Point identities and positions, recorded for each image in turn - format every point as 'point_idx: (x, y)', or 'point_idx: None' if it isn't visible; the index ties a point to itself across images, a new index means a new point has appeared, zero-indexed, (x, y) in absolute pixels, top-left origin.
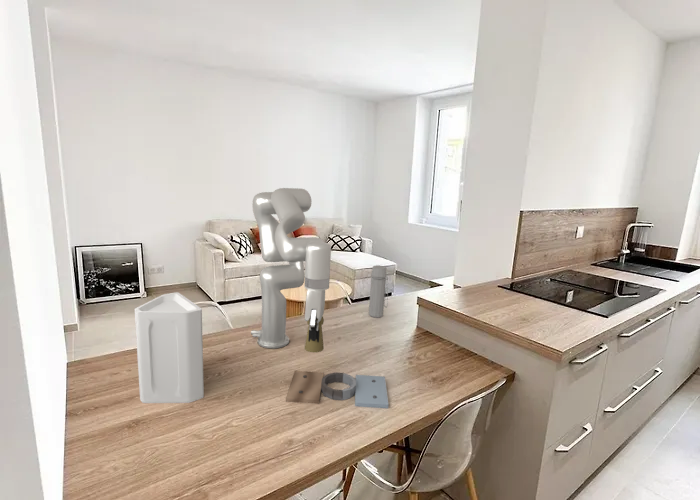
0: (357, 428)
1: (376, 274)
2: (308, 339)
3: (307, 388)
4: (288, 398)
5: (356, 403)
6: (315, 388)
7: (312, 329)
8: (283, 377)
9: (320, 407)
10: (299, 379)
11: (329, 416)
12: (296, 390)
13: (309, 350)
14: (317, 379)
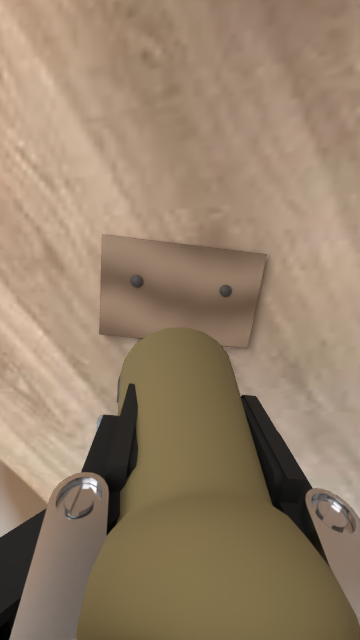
0: (15, 414)
1: None
2: (137, 387)
3: (157, 300)
4: (102, 243)
5: (97, 423)
6: (158, 324)
7: (27, 537)
8: (242, 216)
9: (86, 334)
10: (210, 273)
11: (51, 356)
12: (145, 266)
13: (127, 360)
14: (208, 329)
